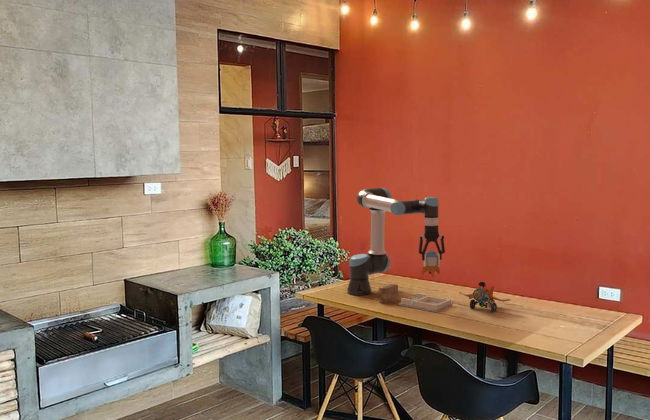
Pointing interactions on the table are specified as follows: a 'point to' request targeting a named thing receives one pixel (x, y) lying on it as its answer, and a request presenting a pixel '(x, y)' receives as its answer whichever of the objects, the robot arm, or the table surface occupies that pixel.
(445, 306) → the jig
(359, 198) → the robot arm
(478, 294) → the toy airplane
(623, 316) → the table surface
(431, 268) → the toy rocket
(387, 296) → the wing block
